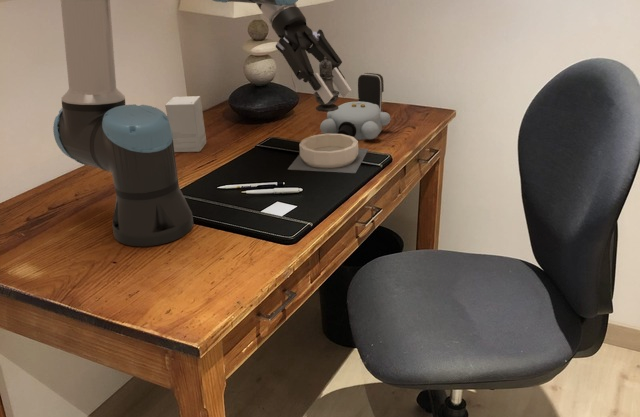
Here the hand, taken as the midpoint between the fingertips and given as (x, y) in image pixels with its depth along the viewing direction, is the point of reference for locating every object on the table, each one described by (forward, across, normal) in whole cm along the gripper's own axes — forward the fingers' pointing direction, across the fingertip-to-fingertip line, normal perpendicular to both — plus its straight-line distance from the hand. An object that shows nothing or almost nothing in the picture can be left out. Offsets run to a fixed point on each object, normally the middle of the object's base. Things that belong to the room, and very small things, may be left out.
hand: (338, 96), depth 150 cm
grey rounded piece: (+4, -18, -20) cm, 27 cm away
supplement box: (-16, +16, -39) cm, 45 cm away
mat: (+9, 0, -14) cm, 16 cm away
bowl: (+9, 0, -14) cm, 16 cm away
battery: (-3, -35, -26) cm, 44 cm away
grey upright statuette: (0, 0, -5) cm, 5 cm away
